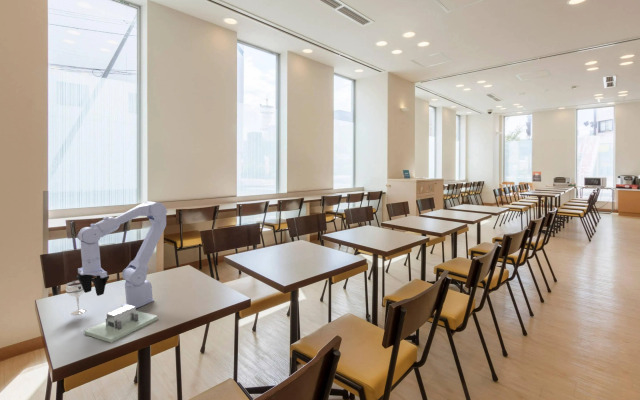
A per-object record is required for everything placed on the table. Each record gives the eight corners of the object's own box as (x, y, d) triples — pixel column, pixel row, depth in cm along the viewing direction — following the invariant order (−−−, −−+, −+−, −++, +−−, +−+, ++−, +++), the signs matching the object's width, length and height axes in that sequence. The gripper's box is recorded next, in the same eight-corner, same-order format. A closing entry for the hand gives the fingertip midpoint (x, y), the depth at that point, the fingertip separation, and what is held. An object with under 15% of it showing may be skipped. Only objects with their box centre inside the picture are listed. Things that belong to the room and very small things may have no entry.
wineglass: (82, 315, 128) (79, 285, 127) (63, 316, 128) (61, 286, 126) (92, 308, 135) (90, 279, 134) (75, 308, 134) (72, 280, 133)
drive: (128, 317, 123) (128, 304, 122) (136, 319, 121) (135, 306, 121) (107, 327, 116) (106, 313, 115) (114, 329, 114) (113, 315, 113)
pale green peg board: (132, 312, 130) (132, 303, 129) (157, 319, 124) (157, 309, 124) (84, 334, 113) (83, 323, 113) (110, 342, 108) (109, 331, 107)
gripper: (67, 259, 124) (71, 294, 125) (92, 263, 118) (95, 300, 119) (87, 254, 130) (90, 287, 131) (111, 258, 124) (114, 293, 125)
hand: (94, 293), depth 126 cm, fingers open, 7 cm apart
